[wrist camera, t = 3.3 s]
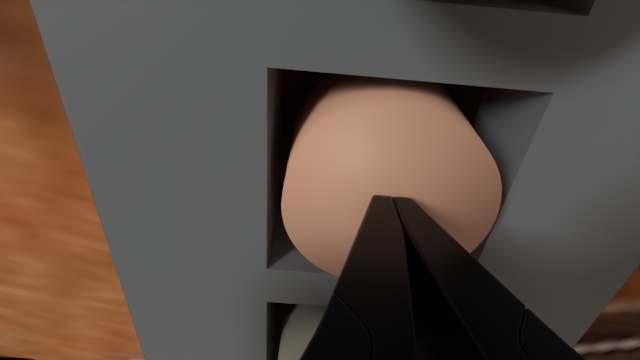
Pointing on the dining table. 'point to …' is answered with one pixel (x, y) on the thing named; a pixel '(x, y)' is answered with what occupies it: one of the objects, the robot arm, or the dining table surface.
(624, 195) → the console
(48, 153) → the dining table surface
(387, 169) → the terracotta button
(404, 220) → the robot arm
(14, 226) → the dining table surface
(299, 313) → the cream button
